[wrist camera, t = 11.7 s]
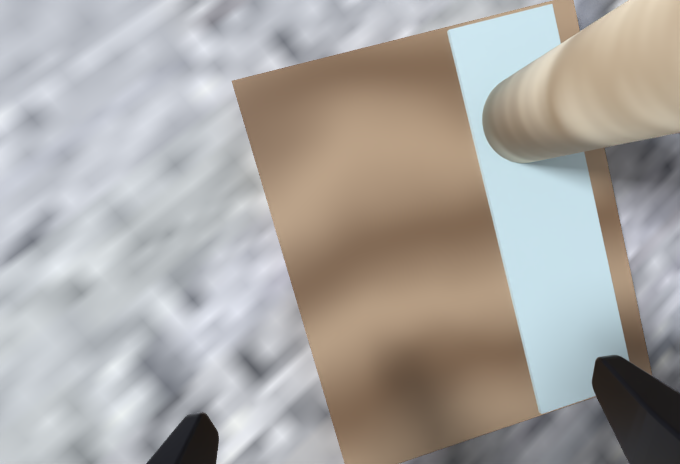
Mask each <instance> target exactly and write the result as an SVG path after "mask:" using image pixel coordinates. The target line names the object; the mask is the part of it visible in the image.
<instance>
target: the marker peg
mask: <svg viewBox="0 0 680 464" xmlns="http://www.w3.org/2000/svg"><path fill="white" fill-rule="evenodd" d="M482 125H483V131H484V134H485V137H486V139H487V141H488V143H489V145H490V146H491V147H492V149H493V150H494V151H495V152H496V153H497V154H498V155H500V156H501V157H503V158H505V159H507V160H509V161H512V162H516V163H530V162H535V161H540V160H545V159H550V158H555V157H560V156H565V155H570V154H575V153H580V152H585V151H590V150H595V149H600V148H605V147H610V146H615V145H620V144H625V143H630V142H635V141H640V140H645V139H650V138H655V137H660V136H665V135H671V134H676V133H680V0H628V1H627V2H625V3H624V4H622V5H621V6H619V7H617V8H616V9H614V10H613V11H611V12H610V13H608V14H606V15H605V16H603V17H602V18H600V19H599V20H597V21H596V22H594V23H592V24H591V25H589V26H588V27H586V28H585V29H583V30H581V31H580V32H578V33H577V34H575V35H574V36H572V37H570V38H569V39H567V40H566V41H564V42H563V43H561V44H560V45H558V46H556V47H555V48H553V49H552V50H550V51H549V52H547V53H545V54H544V55H542V56H541V57H539V58H538V59H536V60H535V61H533V62H531V63H530V64H528V65H527V66H525V67H524V68H522V69H520V70H519V71H517V72H516V73H514V74H513V75H511V76H509V77H508V78H506V79H505V80H503V81H502V82H500V83H499V84H498V85H497V86H496V87H495V88H494V89H493V90H492V91H491V93H490V94H489V96H488V98H487V100H486V102H485V105H484V108H483V113H482Z"/></svg>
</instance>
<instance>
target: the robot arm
mask: <svg viewBox="0 0 680 464" xmlns="http://www.w3.org/2000/svg"><path fill="white" fill-rule="evenodd" d="M592 387H593V390H594V393H595V395H596V397H597V399H598V401H599V403H600V405H601V407H602V409H603V411H604V413H605V415H606V417H607V419H608V421H609V423H610V425H611V427H612V429H613V431H614V433H615V435H616V437H617V440H618V442H619V444H620V446H621V448H622V450H623V452H624V454H625V456H626V458H627V460H628V461H629V463H630V464H680V393H679V392H677V391H676V390H674V389H673V388H671V387H669V386H668V385H666V384H665V383H663V382H661V381H660V380H658V379H657V378H655V377H653V376H652V375H650V374H649V373H647V372H645V371H644V370H642V369H641V368H639V367H637V366H636V365H634V364H633V363H631V362H630V361H628V360H626V359H625V358H623V357H621V356H619V355H608V356H601V357H598V358H597V359H596V360H595V365H594V371H593V376H592ZM218 443H219V436H218V432H217V429H216V428H215V426H214V425H213V423H212V422H211V420H210V419H209V417H208V415H207V414H206V413H204V412H200V413H193V414H189V415H187V416H186V417H185V418H184V419H183V420H182V421H181V423H180V424H179V425H178V426H177V427H176V429H175V430H174V431H173V432H172V433H171V435H170V436H169V437H168V438H167V439H166V441H165V442H164V443H163V444H162V445H161V447H160V448H159V449H158V450H157V451H156V453H155V454H154V455H153V456H152V457H151V459H150V460H149V461H148V462H147V463H146V464H216V459H217V451H218Z"/></svg>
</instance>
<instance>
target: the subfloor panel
mask: <svg viewBox="0 0 680 464" xmlns="http://www.w3.org/2000/svg"><path fill="white" fill-rule="evenodd" d="M578 32H580V30H579V25H578V20H577V15H576V11H575V6H574V1H573V0H553V1H549V2H545V3H541V4H537V5H533V6H529V7H525V8H521V9H517V10H513V11H509V12H505V13H501V14H497V15H493V16H489V17H485V18H481V19H477V20H473V21H469V22H465V23H461V24H457V25H453V26H449V27H445V28H441V29H437V30H433V31H429V32H425V33H421V34H417V35H413V36H409V37H405V38H401V39H397V40H393V41H389V42H385V43H381V44H377V45H373V46H369V47H365V48H361V49H357V50H353V51H349V52H345V53H341V54H337V55H333V56H329V57H325V58H321V59H317V60H313V61H309V62H305V63H301V64H297V65H293V66H289V67H285V68H281V69H277V70H273V71H269V72H265V73H261V74H257V75H253V76H249V77H245V78H241V79H237V80H233V81H232V84H233V87H234V91H235V94H236V97H237V101H238V104H239V107H240V111H241V114H242V118H243V121H244V124H245V128H246V131H247V134H248V138H249V141H250V145H251V148H252V151H253V155H254V158H255V162H256V165H257V168H258V172H259V175H260V178H261V182H262V185H263V189H264V192H265V195H266V199H267V202H268V206H269V209H270V212H271V216H272V219H273V222H274V226H275V229H276V233H277V236H278V239H279V243H280V246H281V250H282V253H283V256H284V260H285V263H286V266H287V270H288V273H289V277H290V280H291V283H292V287H293V290H294V293H295V297H296V300H297V304H298V307H299V310H300V314H301V317H302V321H303V324H304V327H305V331H306V334H307V337H308V341H309V344H310V348H311V351H312V354H313V358H314V361H315V365H316V368H317V371H318V375H319V378H320V381H321V385H322V388H323V392H324V395H325V398H326V402H327V405H328V408H329V412H330V415H331V419H332V422H333V425H334V429H335V432H336V436H337V439H338V442H339V446H340V449H341V452H342V456H343V459H344V463H345V464H399V463H402V462H405V461H408V460H411V459H414V458H417V457H419V456H422V455H425V454H428V453H431V452H434V451H437V450H440V449H443V448H446V447H449V446H452V445H455V444H458V443H461V442H464V441H467V440H470V439H473V438H476V437H479V436H481V435H484V434H487V433H490V432H493V431H496V430H499V429H502V428H505V427H508V426H511V425H514V424H517V423H520V422H523V421H526V420H529V419H532V418H535V417H538V416H541V415H543V414H546V413H549V412H552V411H555V410H558V409H561V408H564V407H567V406H570V405H573V404H576V403H579V402H582V401H585V400H588V399H591V398H594V397H596V395H595V393H594V390H593V387H592V376H593V371H594V365H595V360H596V359H597V358H598V357H601V356H608V355H619V356H621V357H623V358H625V359H626V360H628V361H630V362H631V363H633V364H634V365H636V366H637V367H639V368H641V369H642V370H644V371H645V372H647V373H649V374H650V375H652V371H651V367H650V362H649V357H648V352H647V348H646V343H645V338H644V334H643V329H642V324H641V319H640V315H639V310H638V305H637V300H636V296H635V291H634V286H633V281H632V277H631V272H630V267H629V262H628V258H627V253H626V248H625V243H624V239H623V234H622V229H621V224H620V220H619V215H618V210H617V205H616V201H615V196H614V191H613V186H612V182H611V177H610V172H609V167H608V163H607V158H606V153H605V148H600V149H595V150H590V151H585V152H580V153H575V154H570V155H565V156H560V157H555V158H550V159H545V160H540V161H535V162H530V163H516V162H512V161H509V160H507V159H505V158H503V157H501V156H500V155H498V154H497V153H496V152H495V151H494V150H493V149H492V147H491V146H490V145H489V143H488V141H487V139H486V137H485V134H484V131H483V125H482V113H483V108H484V105H485V102H486V100H487V98H488V96H489V94H490V93H491V91H492V90H493V89H494V88H495V87H496V86H497V85H498V84H499V83H500V82H502V81H503V80H505V79H506V78H508V77H509V76H511V75H513V74H514V73H516V72H517V71H519V70H520V69H522V68H524V67H525V66H527V65H528V64H530V63H531V62H533V61H535V60H536V59H538V58H539V57H541V56H542V55H544V54H545V53H547V52H549V51H550V50H552V49H553V48H555V47H556V46H558V45H560V44H561V43H563V42H564V41H566V40H567V39H569V38H570V37H572V36H574V35H575V34H577V33H578Z"/></svg>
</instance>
